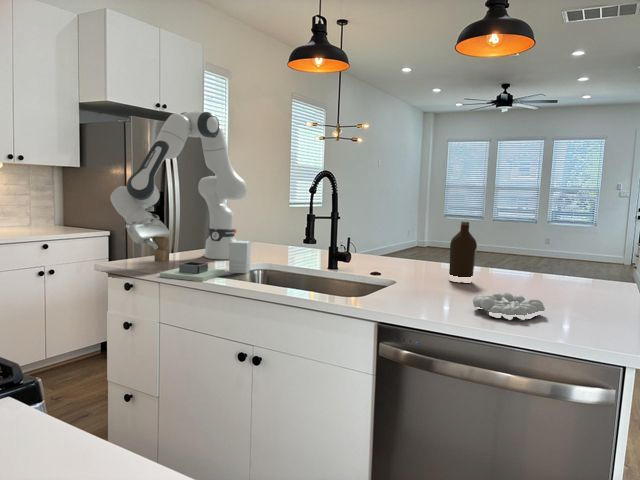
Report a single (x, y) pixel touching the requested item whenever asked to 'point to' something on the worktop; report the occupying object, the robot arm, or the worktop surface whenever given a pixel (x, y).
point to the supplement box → (239, 256)
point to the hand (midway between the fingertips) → (161, 247)
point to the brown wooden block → (162, 249)
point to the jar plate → (189, 276)
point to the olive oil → (462, 253)
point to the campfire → (508, 304)
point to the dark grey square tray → (193, 267)
